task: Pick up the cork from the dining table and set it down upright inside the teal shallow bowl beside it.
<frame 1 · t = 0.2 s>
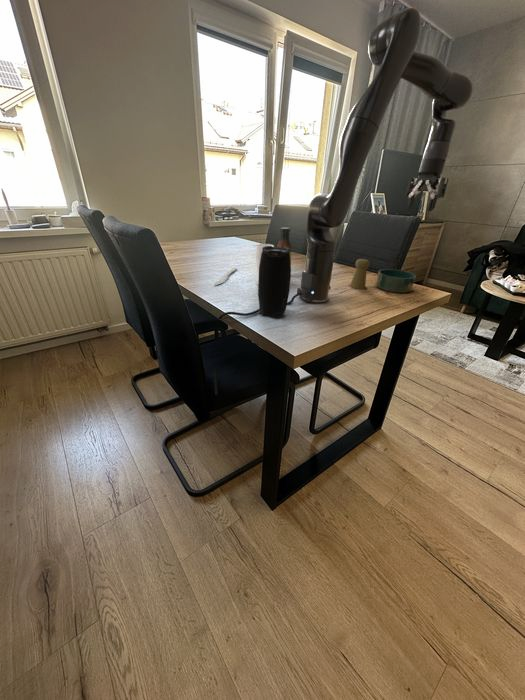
hand: (419, 209, 106), 29 cm above the table, tool pointing down, fingers open, 8 cm apart
teal shallow bowl: (392, 288, 117), on the table
portable speaker: (272, 313, 88), on the table
cork: (357, 287, 116), on the table
sauce bottle: (282, 276, 126), on the table
butter knife: (227, 276, 121), on the table
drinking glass: (263, 284, 114), on the table
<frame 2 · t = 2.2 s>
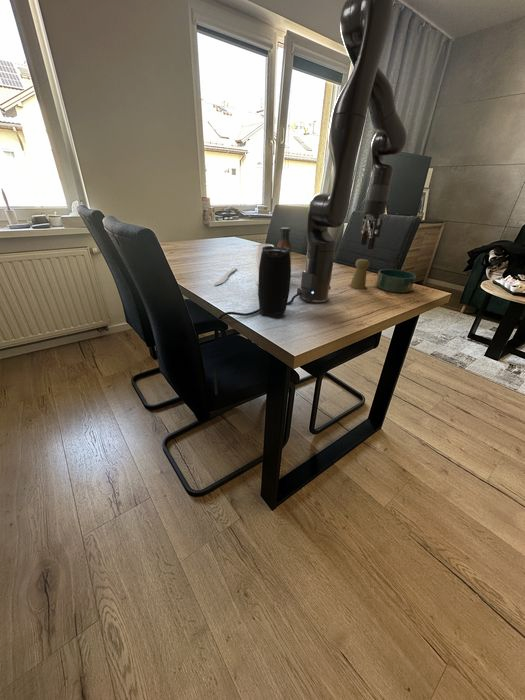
hand: (366, 246, 108), 16 cm above the table, tool pointing down, fingers open, 8 cm apart
nothing on the table moved.
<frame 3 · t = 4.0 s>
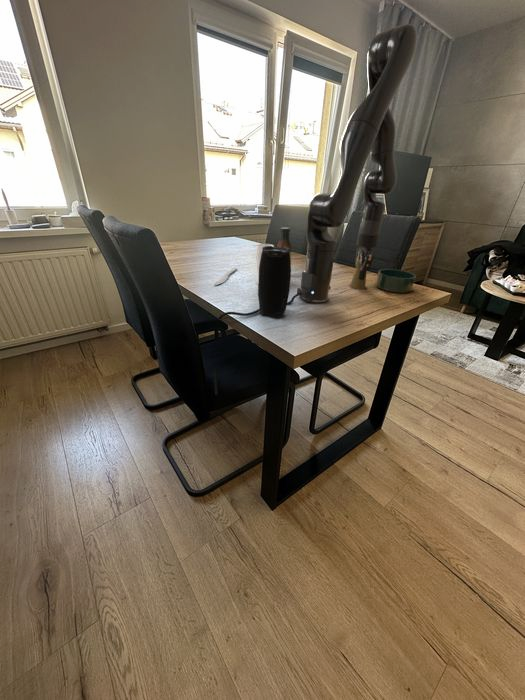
hand: (359, 277, 114), 4 cm above the table, tool pointing down, fingers closed on cork, 4 cm apart
cork: (357, 287, 116), on the table, touching gripper
everything else where it was.
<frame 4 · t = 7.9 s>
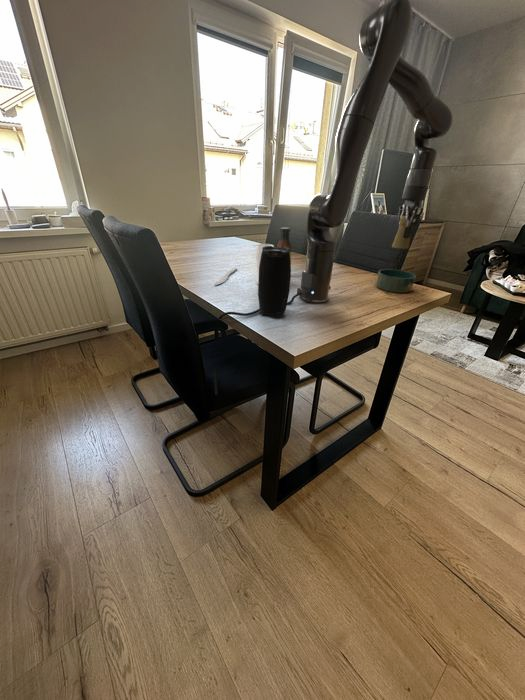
hand: (402, 236, 107), 20 cm above the table, tool pointing down, fingers closed on cork, 4 cm apart
cork: (399, 247, 109), point 16 cm above the table, touching gripper
everything else where it was.
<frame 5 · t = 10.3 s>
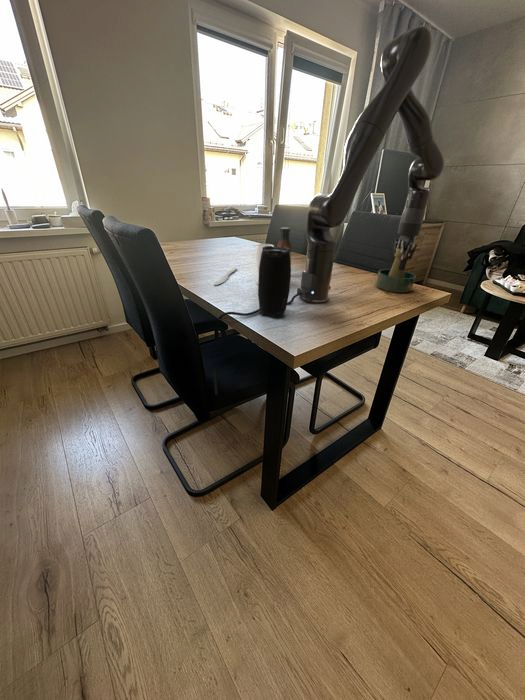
hand: (398, 267, 112), 8 cm above the table, tool pointing down, fingers closed on cork, 4 cm apart
cork: (395, 277, 114), point 4 cm above the table, touching gripper
everything else where it was.
when the fingers open (4 cm above the table, at t = 11.7 s): cork stays where it is, resting on teal shallow bowl.
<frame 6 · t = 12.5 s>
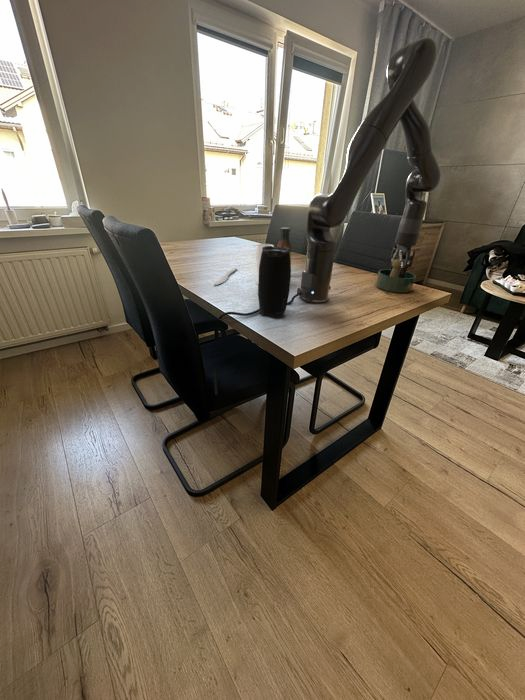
hand: (396, 274, 114), 6 cm above the table, tool pointing down, fingers open, 8 cm apart
cork: (392, 287, 116), resting on teal shallow bowl
everything else where it was.
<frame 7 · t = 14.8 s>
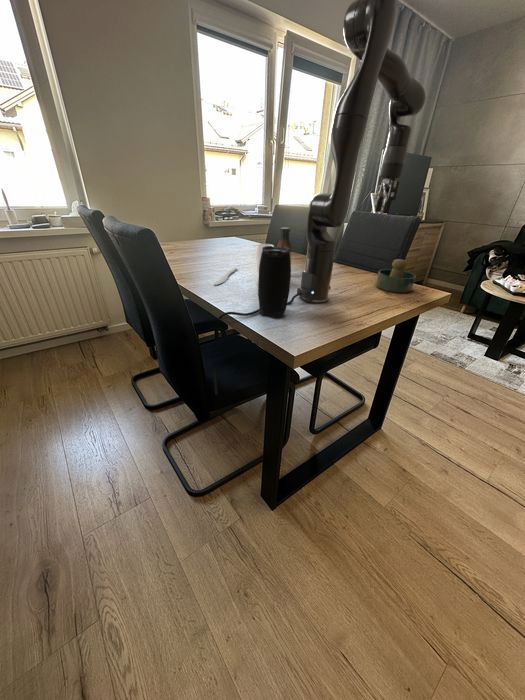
hand: (381, 212, 109), 27 cm above the table, tool pointing down, fingers open, 8 cm apart
nothing on the table moved.
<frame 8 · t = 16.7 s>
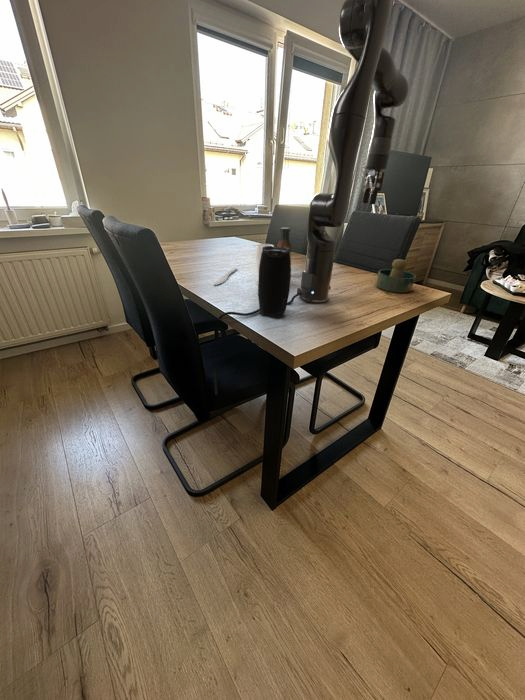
hand: (368, 203, 111), 30 cm above the table, tool pointing down, fingers open, 8 cm apart
nothing on the table moved.
at the end: cork inside the target area in the teal shallow bowl (0.0 cm from its centre), point 0.3 cm above the teal shallow bowl's base; cork tilted 0°; the gripper is holding nothing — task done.
